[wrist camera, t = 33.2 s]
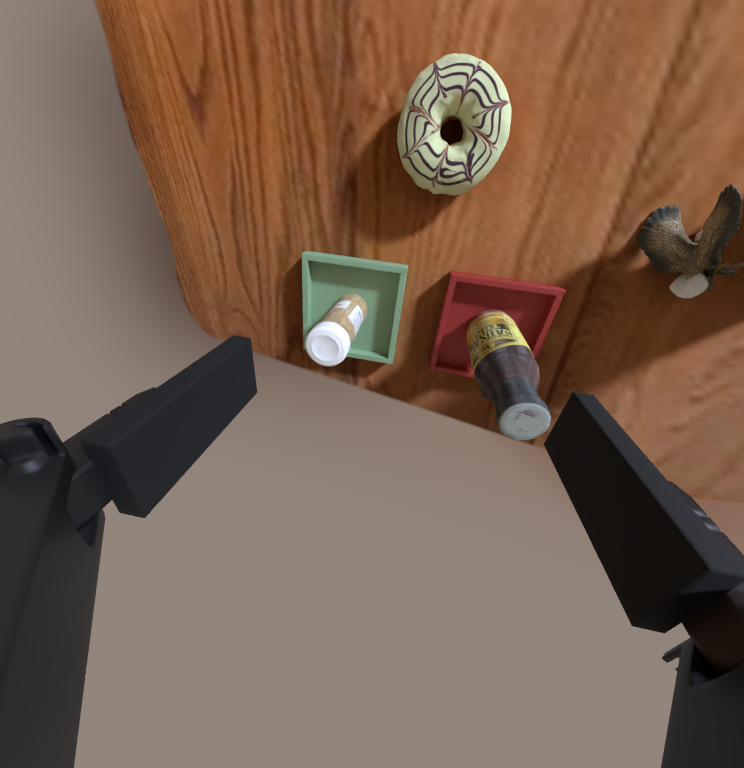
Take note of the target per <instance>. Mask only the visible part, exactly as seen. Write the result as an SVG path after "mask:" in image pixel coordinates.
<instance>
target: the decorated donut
mask: <svg viewBox="0 0 744 768" xmlns="http://www.w3.org/2000/svg"><path fill="white" fill-rule="evenodd" d="M450 119H451V120H459V121H460V122H461V125H462V128H463V137H462V140H461V141H460V142H458V143H453V144H451V145H449V144H448V143H447V142H446V141H444V140H442V138H441V136H440V130H441V128H442V126H443V125H444V124H445V123H446V122H447V121H449V120H450ZM510 123H511V104H510V100H509V98H508V93H507V90H506V87H505V85H504V84H503V82H502V80H501V79H500V78H499V76H498V74H497V73H496V72H495V71H494V70H493V68H492V67H491V66H490V65H488V64H487V63H486V62H484V61H483V60H480V59H477V58H476V57H474V56H471V55H468V54H456V53H454V54H449V55H447V56H443V57H442V58H441V59H439V60H437V61H436V62H434V63H432V64H430V65H429V66H428V67H427V68H425V70H424V71H422V72H421V73H419V74H418V77H417V78H416V79H415V81H414V83H413V84H412V86H411V88H410V90H409V92H408V94H407V96H406V99H405V102H404V105H403V108H402V110H401V113H400V120H399V124H398V131H397V143H398V149H399V153H400V159H401V163H402V165H403V167H404V169H405V170H406V171H407V172H408V173H409V175H410V176H411V178H412V180H413V181H414V182H415V183H416V185H418V186H419V187H421V188H422V189H425V190H428V191H431V192H432V193H433V194H448V195H452V196H455V195H461V194H464V193H466V192H468V191H469V190H470V189H472V188H473V187H474V186H475V185H476V184H478V183H479V182H480V181H482V180H483V179H484V177H485V176H486V175H487V174H488V173H489V171H490V170H491V169H492V168H493V166H494V165H495V163H496V162H497V161H498V159H499V157H500V155H501V153H502V151H503V149H504V147H505V145H506V142H507V139H508V136H509V132H510Z"/></svg>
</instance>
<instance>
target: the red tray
mask: <svg viewBox="0 0 744 768" xmlns="http://www.w3.org/2000/svg"><path fill="white" fill-rule="evenodd" d="M565 291H566V290H564V289H563V288H561V287H560V286H554V285H547V284H539V283H532V282H525V281H518V280H511V279H504V278H497V277H490V276H483V275H475V274H468V273H461V272H454V271H450V274H449V279H448V283H447V287H446V292H445V296H444V300H443V304H442V309H441V313H440V317H439V322H438V326H437V330H436V335H435V339H434V343H433V347H432V352H431V356H430V360H429V370H430V371H436V372H442V373H448V374H454V375H460V376H466V377H472V378H475V377H474V373H473V368H472V363H471V358H470V353H469V348H468V344H467V338H466V337H467V329H468V327H469V324H470V323H471V321H472V320H473V318H474V317H475V316H476V315H478V314H479V313H481V312H484V311H488V310H500V311H502V312H505V313H506V314H508V315H509V316H510V317H511V318H512V319H513V321H514V322H515V324H516V326H517V327H518V329H519V331H520V332H521V334H522V336H523V337H524V339H525V341H526V342H527V344H528V346H529V348H530V350H531V351H532V353H533V355H534V359H536V357H537V355H538V353H539V350H540V348H541V346H542V344H543V341H544V339H545V337H546V335H547V332H548V330H549V328H550V326H551V323H552V321H553V319H554V317H555V314H556V312H557V310H558V308H559V305H560V303H561V301H562V298H563V296H564V294H565Z"/></svg>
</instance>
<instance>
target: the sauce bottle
mask: <svg viewBox="0 0 744 768" xmlns="http://www.w3.org/2000/svg"><path fill="white" fill-rule="evenodd" d="M466 338H467V344H468V348H469V353H470V358H471V363H472V368H473V373H474V377H475V380H476V382H477V384H478V387H479V389H480V392H481V394H482V396H483V397H484V398H486V399H488V400H490V401H492V402H493V404H494V405H495V409H496V412H495V418H496V421H497V424H498V427H499V429H500V431H501V432H502V433H503V434H504V435H505V436H507V437H509V438H512V439H515V440H529V439H533V438H535V437H537V436H539V435H541V434H543V433H544V432H545V431H546V430H547V429H548V427H549V425H550V422H551V416H550V413H549V410H548V407H547V405H546V404H545V402H544V401H542V399H540V398H539V396H538V394H537V390H536V389H537V387H538V385H539V380H540V373H539V367H538V364H537V362H536V361H535V359H534V355H533V353H532V351H531V350H530V348H529V346H528V344H527V342H526V341H525V339H524V337H523V336H522V334H521V332H520V331H519V329H518V327H517V326H516V324H515V322H514V321H513V319H512V318H511V317H510V316H509V315H508V314H506V313H505V312H502V311H500V310H488V311H484V312H481V313H479V314H478V315H476V316H475V317H474V318H473V320H472V321H471V323H470V324H469V327H468V329H467V337H466Z"/></svg>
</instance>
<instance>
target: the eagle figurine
mask: <svg viewBox="0 0 744 768" xmlns="http://www.w3.org/2000/svg"><path fill="white" fill-rule="evenodd" d="M742 201H743V199H742V198H741V194H740V193H739V192H738V189H737V188H734V187H733V185H732V184H730V185H729V187H726V188H725V189H724V191H722V192H721V194H720V196H719V199H718V201H717V204H716V206H715V208H714V210H713V211H712V213H711V214H710V216H709V217H708V219H707V220H706V223H705V225H704V228H703V229H702V230H701V231H700V232H698V233H697V234H696V236H695V241H694V243H693V242H692V241H691V240H690V239H689V238H688V237H687V235H686V232H685V230H684V227H683V225H682V221H681V215H680V209H679V207H678V206H675V207H672V206H667V207H666V208H664V207H660V208H659V209H658V210H655V211H653V213H652V216H651V217H649V218H648V219H647V221H646V226H643V227H642V232H641V233H640V235H639V236H640V238H639V240H640V245H641V249H642V250H644V252H645V255H647V256H649V257H648V258H649V259H650V261H651V262H653V263H652V265H653V267H654V268H655V269H656V270H659V271H660V272H664V273H667V272H670V273H673V272H676V273H681V275H680V276H679V277H678V278H677V279H676V280H675V281H674V282H673V283H672V284H671V285H670V286H669V288H670V290H671V291H672V292H673V293H674V294H675V295H676V296H677V297H681V298H684V299H687V298H693V297H695V296H697V295H699V294H701V293H702V292H704V291H705V290H706V289H708V290H712V278H713V275H716V274H722V275H728V276H734V275H736V274H737V271H735V270H737V269H740V268H744V262H743V263H738V264H734V265H728V264H726V265H718V264H720V262H721V259H720V254H721V253H722V250H723V249H724V248H725V247H726V246H727V243H728V240H729V239H731V238H732V235H733V234H734V233H735V232H736V231H737V230H738V229H739V225H740V224H741V222H739V220H740V219H741V216H740V215H741V214H742V211H741V210H742Z"/></svg>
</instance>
